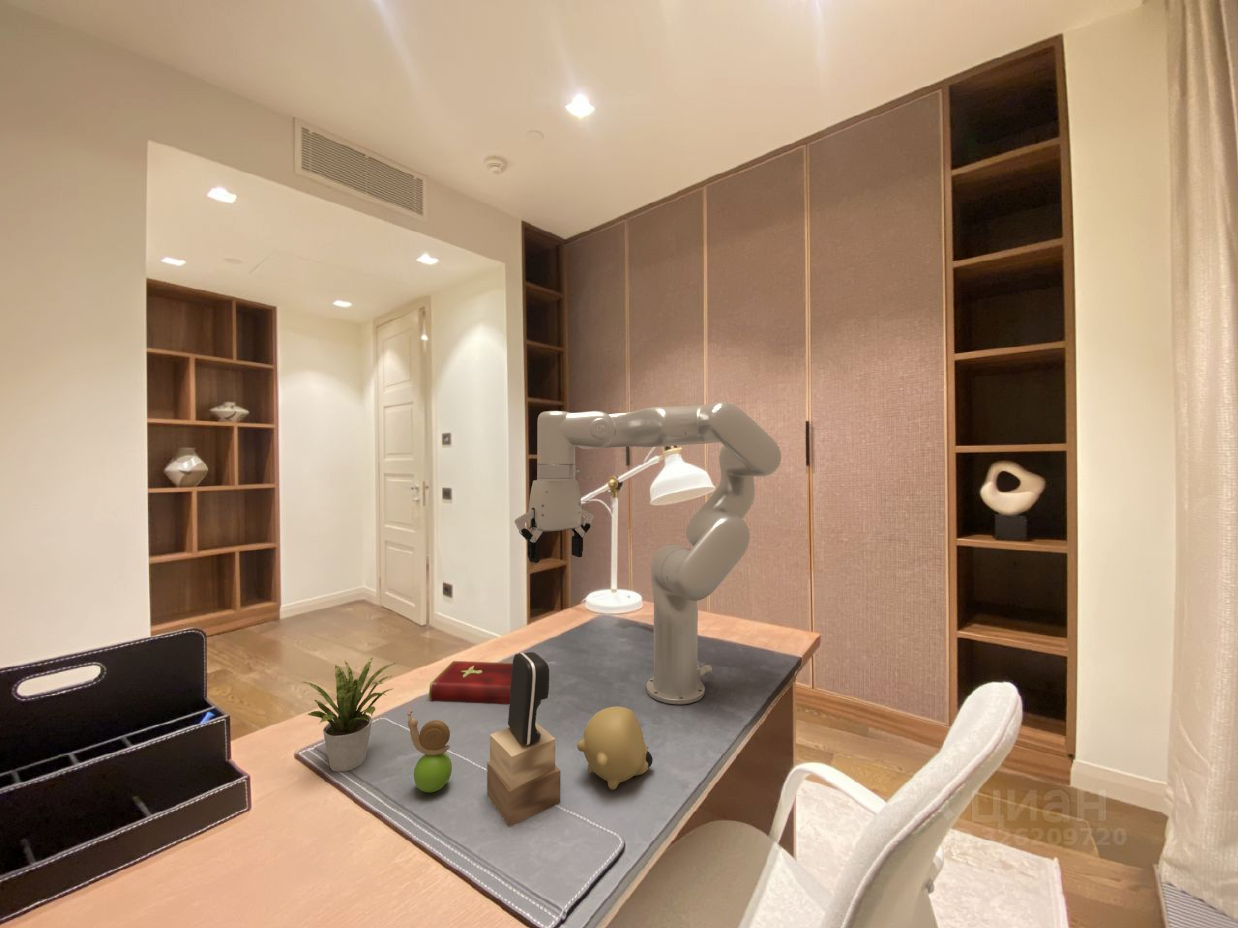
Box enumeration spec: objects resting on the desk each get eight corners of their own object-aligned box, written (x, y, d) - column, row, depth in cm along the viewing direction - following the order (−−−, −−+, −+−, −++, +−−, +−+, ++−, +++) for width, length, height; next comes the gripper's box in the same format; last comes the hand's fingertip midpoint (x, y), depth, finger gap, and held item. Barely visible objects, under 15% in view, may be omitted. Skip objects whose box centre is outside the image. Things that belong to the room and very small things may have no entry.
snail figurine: (413, 778, 77) (413, 702, 77) (455, 776, 78) (455, 700, 78) (401, 802, 72) (401, 720, 72) (446, 799, 72) (446, 718, 72)
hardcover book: (528, 707, 100) (528, 687, 100) (429, 703, 102) (429, 683, 102) (542, 681, 112) (542, 662, 112) (453, 677, 114) (453, 659, 114)
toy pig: (636, 813, 75) (674, 748, 80) (596, 777, 69) (639, 710, 74) (597, 778, 82) (634, 721, 87) (558, 744, 77) (599, 684, 82)
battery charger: (547, 742, 71) (554, 662, 72) (522, 748, 69) (529, 666, 70) (529, 720, 77) (535, 646, 78) (506, 725, 75) (512, 649, 76)
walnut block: (535, 775, 78) (535, 744, 78) (560, 804, 72) (560, 770, 72) (487, 795, 74) (487, 762, 74) (508, 827, 67) (509, 791, 67)
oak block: (531, 747, 78) (531, 718, 77) (555, 769, 72) (555, 738, 72) (489, 764, 73) (489, 734, 73) (511, 789, 68) (511, 756, 68)
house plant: (421, 746, 86) (421, 653, 86) (354, 798, 73) (355, 688, 73) (358, 731, 90) (358, 643, 90) (285, 777, 77) (285, 673, 77)
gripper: (583, 472, 106) (583, 551, 107) (507, 473, 96) (507, 560, 96) (602, 473, 100) (602, 557, 101) (524, 474, 90) (524, 567, 90)
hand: (556, 558), depth 99 cm, fingers open, 9 cm apart
